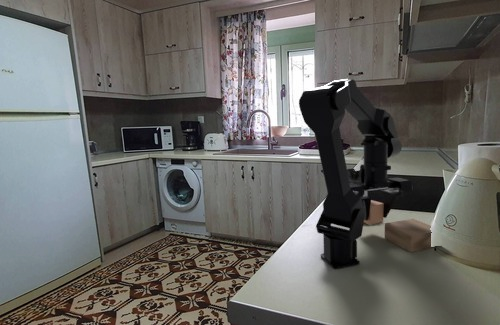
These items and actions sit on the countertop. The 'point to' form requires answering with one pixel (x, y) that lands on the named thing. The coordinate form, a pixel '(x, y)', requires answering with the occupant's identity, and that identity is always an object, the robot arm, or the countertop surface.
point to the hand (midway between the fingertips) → (375, 218)
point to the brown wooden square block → (409, 234)
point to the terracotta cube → (375, 213)
